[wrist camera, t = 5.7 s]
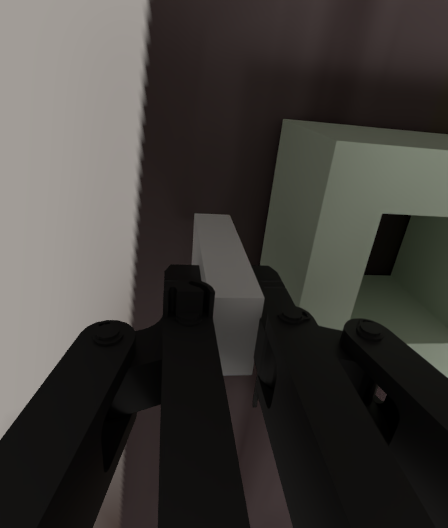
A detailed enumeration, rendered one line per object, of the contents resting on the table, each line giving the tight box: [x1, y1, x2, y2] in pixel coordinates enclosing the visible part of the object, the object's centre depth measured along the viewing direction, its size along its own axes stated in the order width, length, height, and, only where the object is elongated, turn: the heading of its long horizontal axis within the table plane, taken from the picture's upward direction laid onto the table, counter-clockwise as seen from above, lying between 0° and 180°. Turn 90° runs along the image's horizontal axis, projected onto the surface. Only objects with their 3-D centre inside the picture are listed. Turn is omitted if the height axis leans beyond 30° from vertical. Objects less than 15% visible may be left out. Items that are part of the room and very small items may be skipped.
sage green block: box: [260, 119, 448, 378], centre depth 17 cm, size 10×10×6 cm
